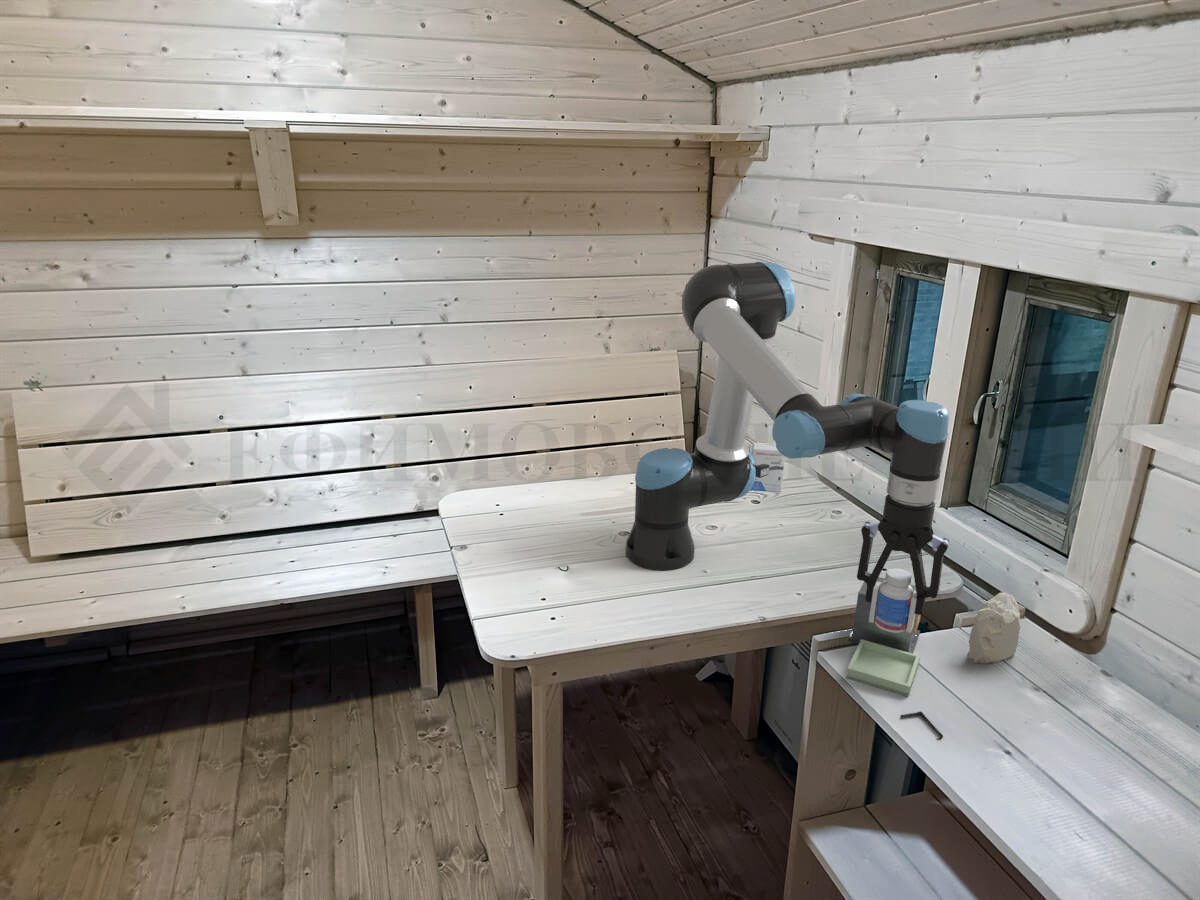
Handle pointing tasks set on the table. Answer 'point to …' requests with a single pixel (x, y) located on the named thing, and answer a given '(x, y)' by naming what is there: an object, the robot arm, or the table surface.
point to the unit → (874, 633)
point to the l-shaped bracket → (924, 719)
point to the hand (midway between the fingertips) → (891, 623)
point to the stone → (995, 630)
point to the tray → (883, 667)
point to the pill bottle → (894, 601)
